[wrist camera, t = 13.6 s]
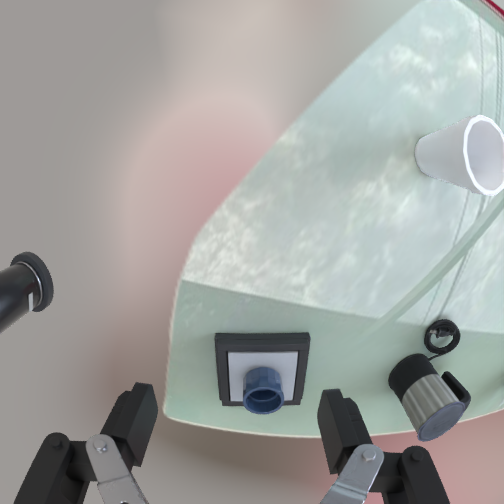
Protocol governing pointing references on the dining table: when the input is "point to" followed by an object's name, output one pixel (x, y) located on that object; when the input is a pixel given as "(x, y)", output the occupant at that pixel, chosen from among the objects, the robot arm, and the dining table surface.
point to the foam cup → (465, 155)
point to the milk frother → (430, 387)
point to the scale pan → (253, 359)
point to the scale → (261, 343)
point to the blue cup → (263, 390)
